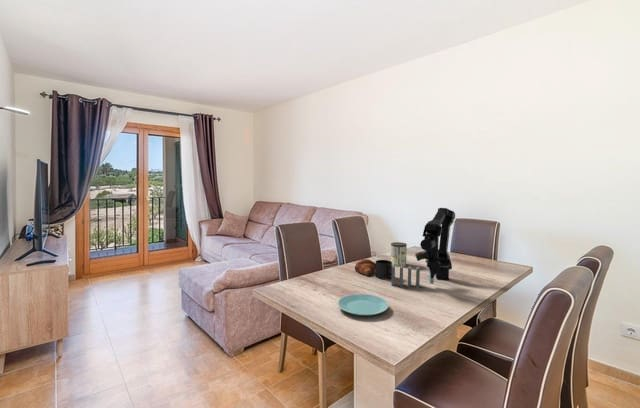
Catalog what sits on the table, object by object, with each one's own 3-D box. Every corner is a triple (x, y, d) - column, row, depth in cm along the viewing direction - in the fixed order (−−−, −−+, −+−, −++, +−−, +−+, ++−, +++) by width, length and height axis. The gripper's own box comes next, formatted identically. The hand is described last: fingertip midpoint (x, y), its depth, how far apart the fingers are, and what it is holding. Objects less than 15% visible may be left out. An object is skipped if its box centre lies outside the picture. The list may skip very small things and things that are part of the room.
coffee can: (395, 261, 214) (395, 241, 213) (409, 264, 207) (409, 243, 205) (387, 264, 206) (387, 243, 205) (401, 267, 199) (401, 246, 198)
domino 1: (394, 283, 169) (395, 265, 168) (394, 286, 164) (394, 267, 163) (391, 282, 169) (392, 264, 168) (391, 285, 164) (391, 267, 164)
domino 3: (410, 284, 166) (411, 266, 166) (410, 287, 162) (411, 268, 161) (407, 284, 167) (408, 266, 166) (407, 287, 162) (408, 268, 161)
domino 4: (418, 285, 165) (419, 266, 165) (419, 288, 161) (419, 269, 160) (415, 284, 166) (416, 266, 165) (416, 287, 161) (416, 269, 160)
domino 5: (432, 280, 163) (433, 262, 163) (433, 283, 159) (434, 264, 158) (429, 280, 164) (430, 262, 163) (430, 283, 159) (430, 264, 158)
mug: (386, 281, 171) (387, 265, 170) (371, 276, 181) (372, 261, 180) (398, 278, 176) (398, 263, 175) (383, 273, 186) (383, 258, 185)
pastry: (346, 271, 192) (346, 258, 191) (362, 266, 202) (362, 254, 202) (367, 277, 180) (367, 263, 179) (383, 272, 190) (383, 259, 189)
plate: (353, 324, 120) (353, 317, 120) (329, 303, 141) (329, 297, 140) (399, 314, 129) (399, 308, 129) (370, 296, 150) (370, 290, 149)
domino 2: (402, 283, 168) (403, 265, 167) (402, 286, 163) (403, 268, 162) (399, 283, 168) (400, 265, 167) (399, 286, 163) (399, 267, 162)
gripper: (415, 242, 171) (415, 270, 172) (417, 250, 153) (416, 280, 154) (436, 243, 168) (436, 271, 169) (440, 251, 150) (440, 282, 151)
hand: (431, 276), depth 161 cm, fingers closed on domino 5, 5 cm apart
